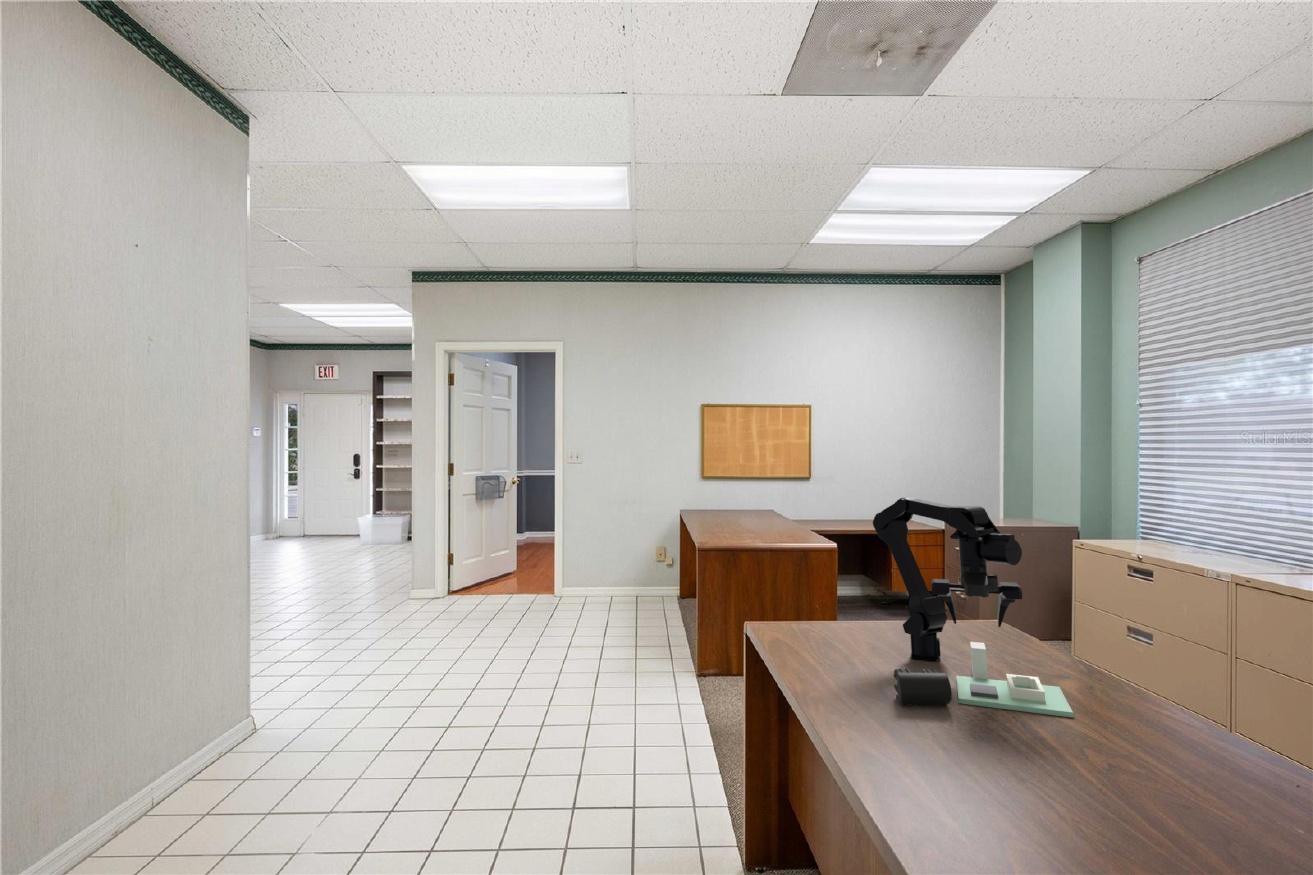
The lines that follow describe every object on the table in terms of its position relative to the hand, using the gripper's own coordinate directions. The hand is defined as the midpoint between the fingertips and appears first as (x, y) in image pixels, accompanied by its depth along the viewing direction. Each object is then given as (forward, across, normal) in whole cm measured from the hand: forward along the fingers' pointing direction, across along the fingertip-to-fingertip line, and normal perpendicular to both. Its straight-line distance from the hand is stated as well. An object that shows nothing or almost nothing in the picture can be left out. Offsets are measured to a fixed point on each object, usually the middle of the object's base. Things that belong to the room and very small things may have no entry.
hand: (976, 625), depth 138 cm
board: (+12, +5, -12) cm, 18 cm away
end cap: (+12, -12, -22) cm, 28 cm away
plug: (+12, 0, 0) cm, 12 cm away
